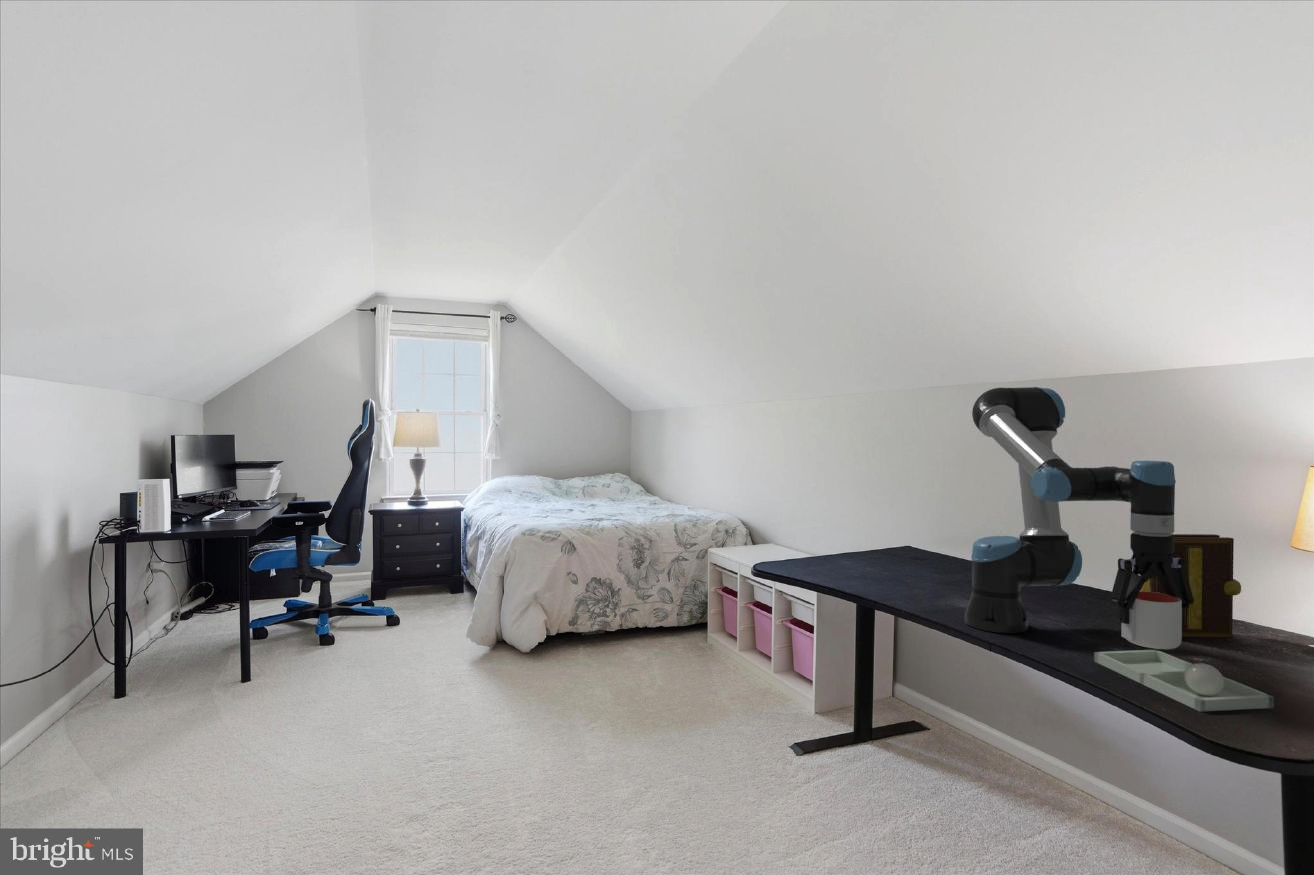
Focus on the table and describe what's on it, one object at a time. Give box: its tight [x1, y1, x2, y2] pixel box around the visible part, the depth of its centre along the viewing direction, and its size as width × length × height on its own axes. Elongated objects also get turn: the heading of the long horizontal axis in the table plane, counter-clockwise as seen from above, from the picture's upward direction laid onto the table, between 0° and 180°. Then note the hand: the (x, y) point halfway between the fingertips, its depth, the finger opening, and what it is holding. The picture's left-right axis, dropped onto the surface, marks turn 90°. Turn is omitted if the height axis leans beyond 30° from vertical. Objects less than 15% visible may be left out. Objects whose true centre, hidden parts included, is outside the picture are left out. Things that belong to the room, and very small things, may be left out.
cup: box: [1126, 590, 1182, 650], centre depth 142 cm, size 10×10×10 cm
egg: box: [1184, 662, 1224, 696], centre depth 130 cm, size 6×6×6 cm
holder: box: [1093, 649, 1275, 712], centre depth 137 cm, size 26×15×3 cm, turn 5°
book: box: [1140, 533, 1242, 639], centre depth 171 cm, size 22×8×25 cm, turn 87°
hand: (1151, 637), depth 142 cm, fingers closed on cup, 10 cm apart
